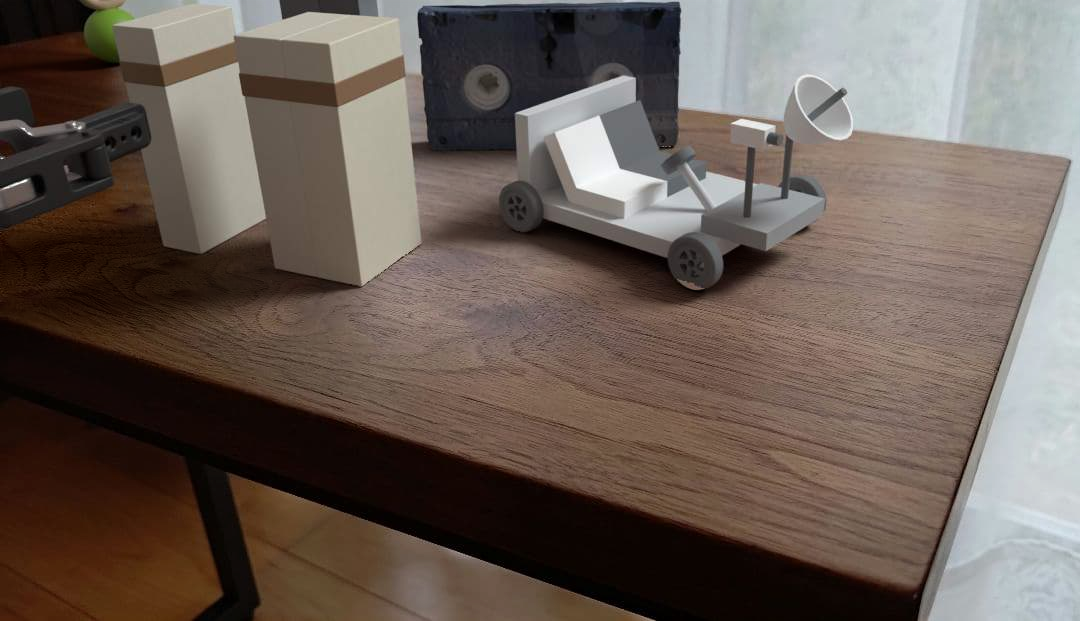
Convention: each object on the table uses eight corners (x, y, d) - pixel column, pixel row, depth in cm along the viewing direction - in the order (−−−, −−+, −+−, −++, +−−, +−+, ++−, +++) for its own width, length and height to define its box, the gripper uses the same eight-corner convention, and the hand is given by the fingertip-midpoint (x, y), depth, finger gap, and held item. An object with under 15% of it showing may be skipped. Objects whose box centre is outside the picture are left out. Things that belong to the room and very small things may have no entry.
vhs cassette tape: (677, 137, 74) (681, -1, 69) (678, 150, 71) (682, 8, 67) (434, 138, 76) (422, 3, 71) (426, 150, 73) (413, 12, 69)
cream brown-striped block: (273, 269, 56) (231, 35, 50) (338, 229, 61) (307, 11, 55) (361, 287, 53) (329, 44, 47) (423, 244, 58) (400, 17, 52)
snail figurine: (71, 67, 100) (39, -59, 95) (128, 53, 105) (100, -68, 99) (101, 74, 97) (70, -56, 92) (158, 59, 102) (132, -65, 96)
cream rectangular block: (162, 246, 59) (109, 25, 53) (232, 210, 64) (192, 3, 58) (201, 255, 58) (152, 28, 52) (270, 217, 63) (232, 6, 57)
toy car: (889, 67, 52) (773, 121, 45) (866, 239, 57) (758, 313, 49) (618, 26, 63) (489, 64, 56) (618, 172, 68) (499, 226, 60)
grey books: (299, 130, 79) (270, -57, 72) (318, 107, 84) (293, -68, 78) (373, 128, 78) (351, -59, 72) (388, 106, 84) (369, -70, 77)
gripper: (-182, 161, 34) (170, 50, 46) (-396, 117, 40) (-31, 30, 52) (-107, 351, 37) (201, 200, 50) (-313, 286, 43) (9, 165, 56)
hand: (82, 113), depth 51 cm, fingers open, 8 cm apart
